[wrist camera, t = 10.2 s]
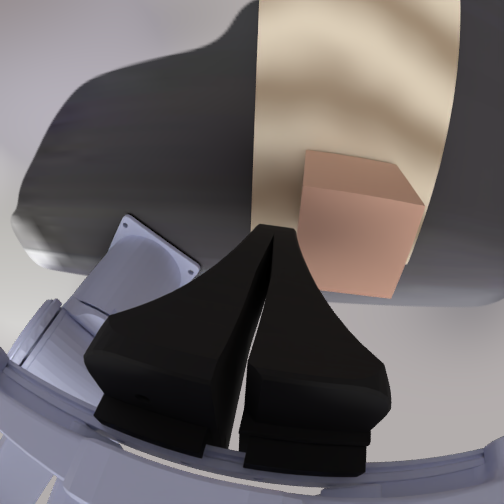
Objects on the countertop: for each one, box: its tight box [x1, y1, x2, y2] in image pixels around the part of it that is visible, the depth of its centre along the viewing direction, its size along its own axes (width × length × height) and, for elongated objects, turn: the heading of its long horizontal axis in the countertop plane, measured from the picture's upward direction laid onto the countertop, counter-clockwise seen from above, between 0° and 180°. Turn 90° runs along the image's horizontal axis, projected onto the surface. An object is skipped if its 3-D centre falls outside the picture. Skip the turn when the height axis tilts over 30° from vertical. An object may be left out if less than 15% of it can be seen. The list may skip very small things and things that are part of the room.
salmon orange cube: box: [296, 150, 425, 299], centre depth 16 cm, size 6×6×6 cm
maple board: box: [251, 0, 460, 264], centre depth 15 cm, size 20×12×1 cm, turn 178°
